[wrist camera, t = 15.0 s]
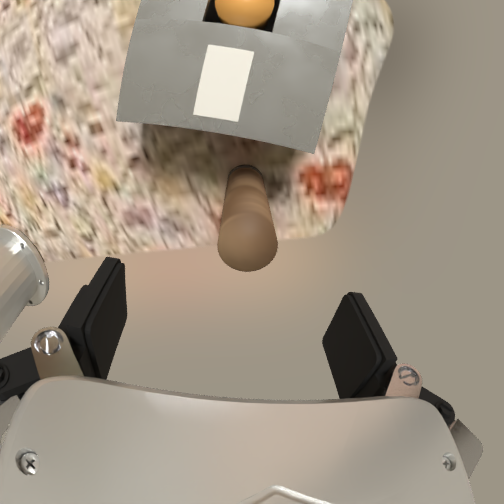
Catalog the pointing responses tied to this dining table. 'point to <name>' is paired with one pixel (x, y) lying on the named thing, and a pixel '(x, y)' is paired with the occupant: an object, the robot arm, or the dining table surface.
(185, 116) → the box
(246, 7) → the button
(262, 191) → the brown rounded rod
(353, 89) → the dining table surface
